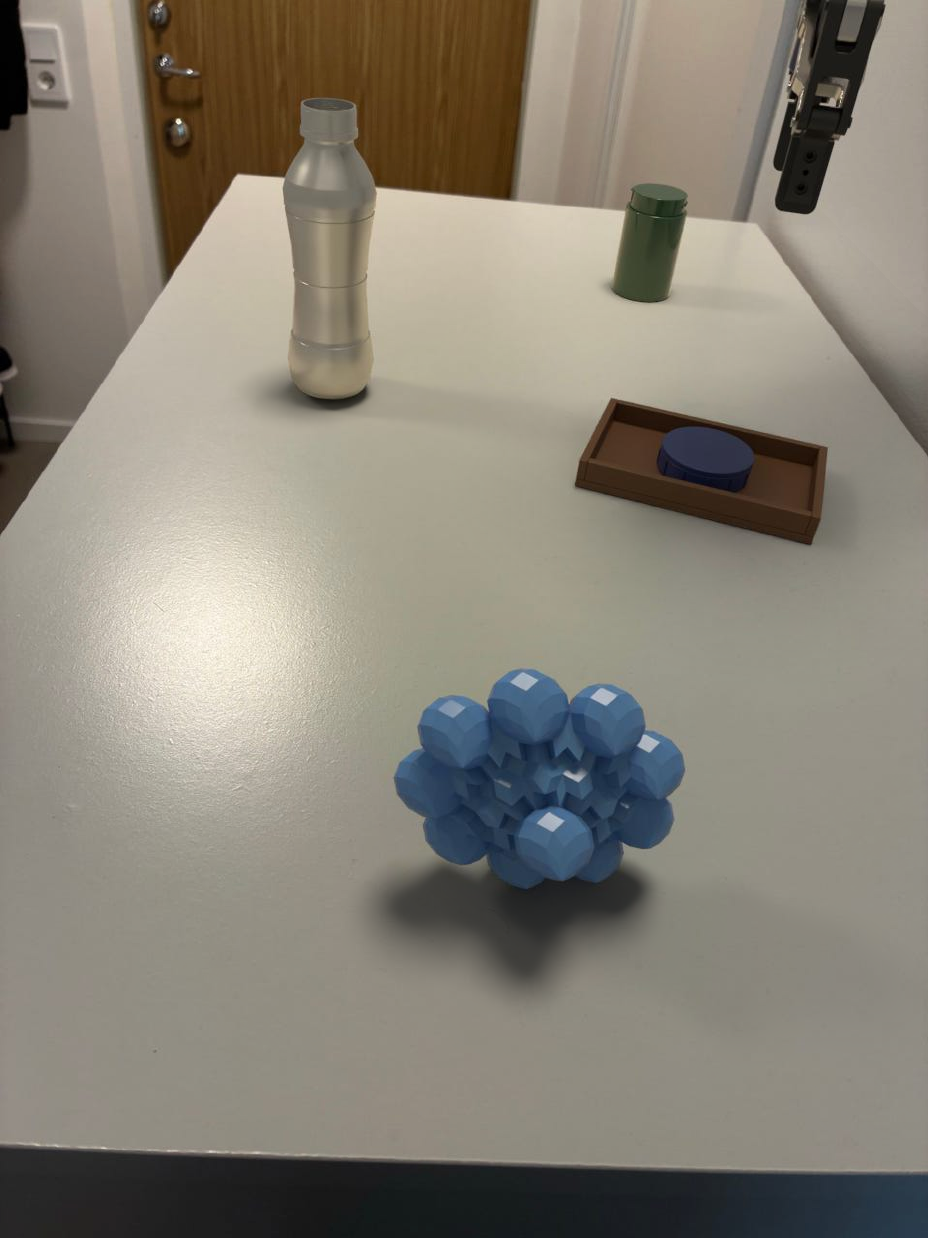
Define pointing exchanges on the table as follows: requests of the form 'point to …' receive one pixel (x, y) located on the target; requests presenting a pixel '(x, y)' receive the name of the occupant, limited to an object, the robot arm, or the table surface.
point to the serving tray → (769, 503)
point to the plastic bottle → (330, 252)
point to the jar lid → (706, 458)
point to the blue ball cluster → (540, 779)
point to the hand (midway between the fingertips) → (790, 189)
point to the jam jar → (650, 242)
